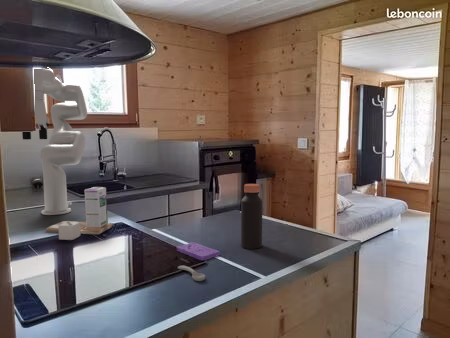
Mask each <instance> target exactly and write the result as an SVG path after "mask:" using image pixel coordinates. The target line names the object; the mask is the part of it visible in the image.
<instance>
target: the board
mask: <svg viewBox="0 0 450 338" xmlns="http://www.w3.org/2000/svg"><path fill="white" fill-rule="evenodd" d="M66 222H78V221H76V220H75V221H74V220H73V221H70V220H62V221H61V222H60V221H59V222H57V223H55V224H52V225H50V226H48V227H47V228H45V230H44V231H45V233H52V234H53V233H57V234H59V226H58V225H61V224H63V223H66ZM79 222H80V235H81V234H83V235H100V234H102V233H104V232H106V231H107V230H109V229H111V228H113V227H114V222H108V224H106V225H104V226H102V227H101V228H93V227H87V225H86V221H79ZM112 226H113V227H112Z"/></svg>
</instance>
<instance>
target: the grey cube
mask: <svg viewBox="0 0 450 338" xmlns="http://www.w3.org/2000/svg"><path fill="white" fill-rule="evenodd" d="M80 222H81V221H77V222H66V223H63V224H61V225H58V226H59V233H58V240H61V241H62V240H65V241H66V240H67V241H72V240H75V239H77V238H79V237H81V234H80Z"/></svg>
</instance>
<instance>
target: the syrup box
mask: <svg viewBox="0 0 450 338" xmlns="http://www.w3.org/2000/svg"><path fill="white" fill-rule="evenodd" d="M84 203H85V204H84V205H85V207H84V208H85V222H86V225H87V227H93V228H101V227H102V226H104V225H106V224H108V223H109V222H108V221H109V219H108V204H107V203H108V200H107V187H105V186H104V187H103V186H93V187H92V186H91V188H85V189H84Z"/></svg>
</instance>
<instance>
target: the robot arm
mask: <svg viewBox="0 0 450 338" xmlns="http://www.w3.org/2000/svg"><path fill="white" fill-rule="evenodd" d="M34 84H35V115H36V125H37V127H39V129H38V136H39V140H47V139H48V129H49V123H50V120H51V122H52V125H53V130H52V132H51V135H50V137H49V139H48V140H49V141H48V144H46V145H43V146H42V147H41V148H40V150H39V159H40V162H41V167H42V177H43V181H42V182H43V199H44V209H42V210H41V212H40V213H41V214H42V215H45V216H56V215H58V216H59V215H65V214H68V213H70V212H72V208H70V207H69V206H71V205H72V204H73V201H72V200H68V195H67V194H68V192H67V189H68V188H67V174H66V172H65V170H64V169H63V168H62V167H61V166H75V165H78V164H80V163H81V160H82V158H83V157H82V156H83V153H84V150H85V145H86V137H85V135H84V133H83V132H82V131H79V130H73V128H72V126H71V125H70V123H69V122H67V121H70V120H71V121H81V120H85V119H86V118H87V116H88V109H87V105H86V101H85V96H84V92H83V90H82V87H80V85H79V84H77V83H63V82H62V81H61V80H60V79H58V78H57V77H56V75H55V73H54V71H53V69H51V68H49V69H34ZM44 94H45V95H48V96H49V97H50V98H52V99H53V100H55V101H59V102H57V103H55V104H53V105H52V106H51V107H50V118H51V119H50V118H48V116H47V110H46V103H45V97H44V96H45V95H44ZM31 132H32V131H31ZM31 132H22V131H21V133H22V136H21V137H22V140H31V139H32V133H31Z"/></svg>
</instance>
